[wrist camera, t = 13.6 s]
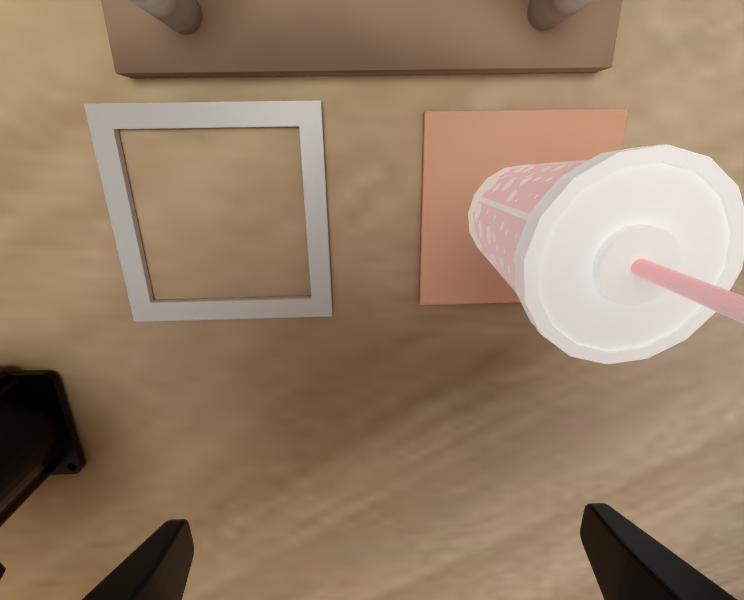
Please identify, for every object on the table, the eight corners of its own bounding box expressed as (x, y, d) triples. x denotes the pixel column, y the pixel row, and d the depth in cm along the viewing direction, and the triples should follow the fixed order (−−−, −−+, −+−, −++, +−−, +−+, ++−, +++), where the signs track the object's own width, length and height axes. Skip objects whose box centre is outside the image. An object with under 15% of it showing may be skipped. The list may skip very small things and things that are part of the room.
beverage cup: (534, 296, 21) (827, 538, 8) (429, 246, 20) (566, 430, 7) (605, 183, 19) (1139, 255, 6) (494, 122, 18) (848, 50, 5)
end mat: (589, 297, 22) (593, 300, 21) (418, 302, 21) (420, 304, 21) (622, 109, 19) (628, 108, 18) (423, 112, 18) (425, 111, 18)
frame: (332, 313, 21) (332, 316, 21) (138, 318, 21) (134, 321, 21) (321, 101, 18) (320, 100, 18) (89, 104, 18) (83, 103, 17)
